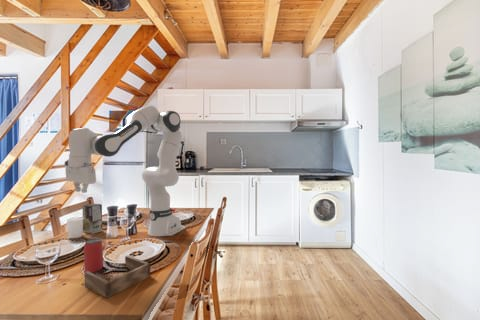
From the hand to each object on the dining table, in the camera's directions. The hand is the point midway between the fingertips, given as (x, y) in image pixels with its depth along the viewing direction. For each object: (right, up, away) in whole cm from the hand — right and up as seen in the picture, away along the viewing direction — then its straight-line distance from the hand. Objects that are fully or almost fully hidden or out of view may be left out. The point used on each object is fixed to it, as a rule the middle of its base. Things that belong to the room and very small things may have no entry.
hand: (81, 192), depth 120 cm
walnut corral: (+29, -30, -24) cm, 48 cm away
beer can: (+15, -30, -15) cm, 37 cm away
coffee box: (-14, -28, +33) cm, 45 cm away
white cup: (-18, -28, +24) cm, 41 cm away
